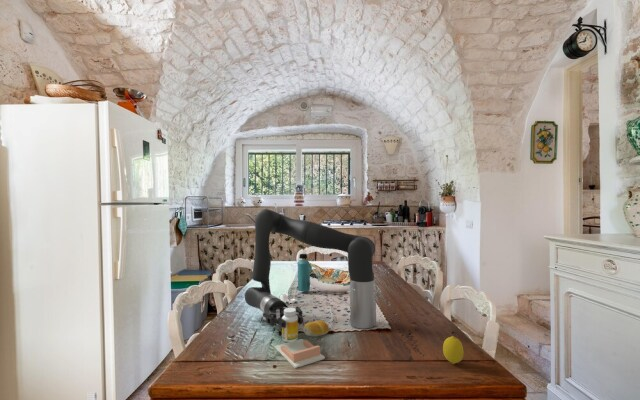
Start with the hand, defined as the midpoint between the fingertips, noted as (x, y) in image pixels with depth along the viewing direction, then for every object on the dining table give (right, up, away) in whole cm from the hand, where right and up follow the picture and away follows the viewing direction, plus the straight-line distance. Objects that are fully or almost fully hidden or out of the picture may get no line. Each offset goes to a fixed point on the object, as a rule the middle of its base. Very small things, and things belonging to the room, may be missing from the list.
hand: (293, 323), depth 102 cm
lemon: (+47, -8, -11) cm, 49 cm away
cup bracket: (+2, -8, -4) cm, 9 cm away
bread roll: (+7, -8, +12) cm, 17 cm away
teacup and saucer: (-7, -9, +43) cm, 44 cm away
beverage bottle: (0, -8, +62) cm, 62 cm away
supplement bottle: (-1, -6, +2) cm, 7 cm away
